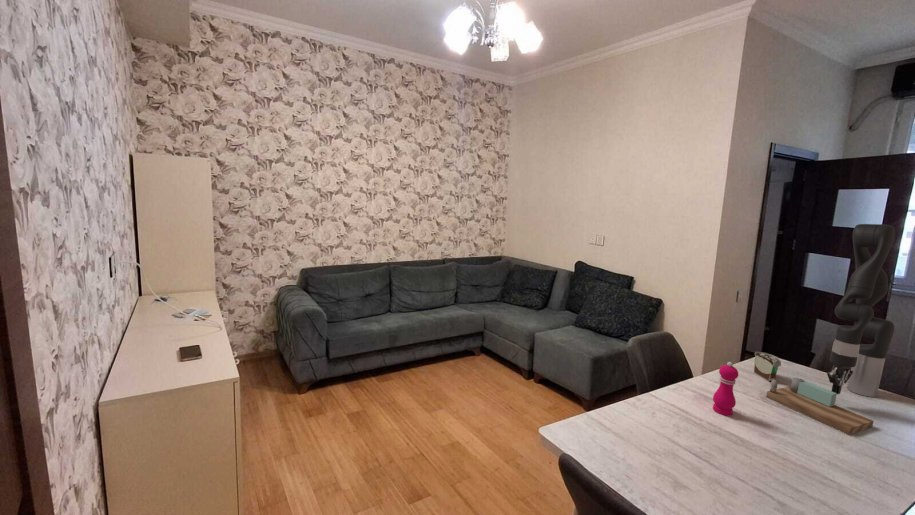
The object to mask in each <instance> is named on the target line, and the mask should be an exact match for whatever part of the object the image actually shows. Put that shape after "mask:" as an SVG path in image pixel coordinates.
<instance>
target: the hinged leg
mask: <svg viewBox="0 0 915 515" xmlns="http://www.w3.org/2000/svg"><path fill="white" fill-rule="evenodd" d="M790 386H791V388H790V390H791V391H793V392H795V393H798V394H801V395H803V396H805V397H808V398H810V399H812V400H815V401H817V402H820V403H822V404H824V405H827V406H829V407H830V406H834V405H836V404H835V403H836V400H837V395H838V394H837V393H835V392H832V390H829V389H827V388H824V387H821V386H819V385H816V384H813V383H811V382H809V381H807V380H805V379H802V378H799V377H792V378H791V384H790Z"/></svg>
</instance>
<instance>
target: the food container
mask: <svg viewBox="0 0 915 515" xmlns="http://www.w3.org/2000/svg"><path fill="white" fill-rule="evenodd" d="M754 356H755V357H754V366H753V367H754V368H753V374H756V375H757V376H759V378H762V379H764V380H765V381H767V382H769V383H771V382H772V379H774V380H776V376H777V372H778V370H779V367H781V366H782V362H781V358H779V357H778V356H775V355H773V354H770V353H768V352H761V351H755V352H754Z"/></svg>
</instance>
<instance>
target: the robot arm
mask: <svg viewBox="0 0 915 515" xmlns="http://www.w3.org/2000/svg"><path fill="white" fill-rule="evenodd" d="M895 237H896V230H895V227H894V226H893V225H891V224H883V223H881V224H880V223H879V224H876V223H859V224H856V226H854V227H853V231H852V247H853V253H854V262H855V270H854V272H852V274H851V276H850V278H849V281H848V285H847V289H846V291H845V294H844V295H843V296H842V298H841V299H840V301H839V302H838V304H837V305H836V306H835V308H834V315H835V316H836V317H837V318H838V319H840V320H844V321H849V322H854V324H853V325H845V324H844V325H843V324H842V325H838V327H837V329H836V334H835V337H834V341H833V344H832V349H831V351H830V356H829V361H830V362H831V363H833V365H832V367H831V371H827V373H826V375H827V378H828V380H829V383H831V384H832V387H831V391H832V392H835V393H837V395H840V394H841V391H842V389H843V386H844V385H845V384H846V389H847V390H849V391H850V392H852V393H854V394H856V395H857V394H858V395H861V396H865V397H873V398H876V397H877V396H878V391H879V387H880V385H881V384H880V383H881V380H882V375H883V370H884V365H885V362H886V357H887V354H888V352H889V349H890V346H891V342H892V338H893V336H894V334H895V333H894V332H895V325H894V323H893V322H892V321H891V320H889V319H888V320H887V319H884V318H879V317H875V311H874V309H873V307H874V306H875V305H876V304H877V303H878V302H879V301H880V300H882V299H883V298H884V297H885V296H886V295H887V294H888V291H889V278H888V275H887V273H886V271H885V270H884V269H883V265H884V263H885V261H886V259H887V257H888V255H889V253H890V251H891V249H892V246H893V244H894V241H895ZM869 248H870V249H871V248H872V249H874V248H875V249H876V250H875V251H874V253H873V255H871V253H870V251H869ZM854 300H855V303H854V302H852V301H854ZM862 337H864V338H867V339H871V340H874V342H873V343H871V344H869V343H868V344H866V343H861V341H862Z"/></svg>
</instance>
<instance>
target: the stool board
mask: <svg viewBox="0 0 915 515" xmlns="http://www.w3.org/2000/svg"><path fill="white" fill-rule="evenodd" d="M778 385H779V381H778V380H776V379H775V380H774V379H772V382H770V388H769V390H768V391H766V396H765V397H766V398H767V399H769V400H771V401H774V402H775V403H776V402H777V403H779V404H780V405H783V407H787V408H789V409H791V410H793V411H796V413H797V412H798V413H800V414H802V415H804V416H806V417H809V418H811V419H813V420H815V421H817V422H820V423H821V424H823V425H824V424H825V425H826V426H827V427H828V426H829V427H830V428H832V427H833V429H834V428H835V430H837V431H839V430H840V431H839V432H841V433H843V432H844V433H843V434H845V433H846V435H848V436H849V435H853V434H856V433H858V432H861V431H865V430H869V429H871V428H873V425H874V422H875V421H874V420H872V419H869V418H867V417H865V416H863V415H861V414H858V413H856V412H853V411H850V410H848V409H846V408H843V407H840V406H839V405H836V404H835V405H834V406H830V407H829V406H827V405H824V404H822V403H820V402H817V401H815V400H812V399H810V398H808V397H805V396H803V395H801V394H798V393H795V392H793V391H791V390H790V388H791V385H790V386H789V385H788V386H784V387H780V388H778Z"/></svg>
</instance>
